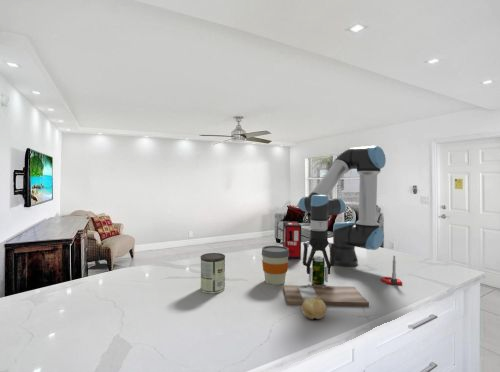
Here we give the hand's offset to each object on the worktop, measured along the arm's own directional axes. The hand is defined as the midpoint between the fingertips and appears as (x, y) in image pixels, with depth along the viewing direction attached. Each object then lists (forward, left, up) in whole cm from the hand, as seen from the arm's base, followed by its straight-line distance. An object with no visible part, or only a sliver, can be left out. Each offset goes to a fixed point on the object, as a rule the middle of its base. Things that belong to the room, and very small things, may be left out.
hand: (318, 281), depth 129 cm
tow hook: (-6, +35, -2) cm, 36 cm away
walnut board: (+14, -1, -1) cm, 14 cm away
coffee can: (+8, -46, -2) cm, 47 cm away
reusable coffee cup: (-3, -19, -2) cm, 19 cm away
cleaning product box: (-49, -6, -2) cm, 49 cm away
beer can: (0, 0, -2) cm, 2 cm away
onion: (+31, -8, -2) cm, 32 cm away
